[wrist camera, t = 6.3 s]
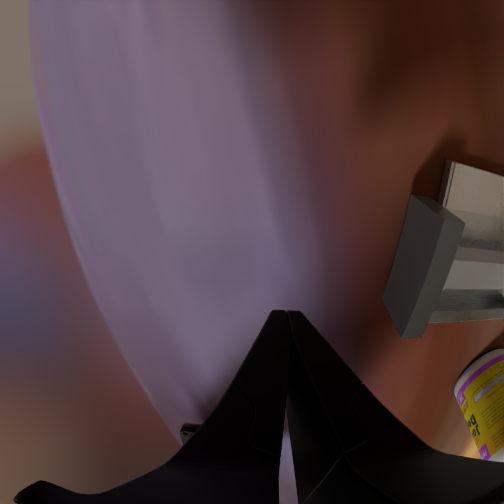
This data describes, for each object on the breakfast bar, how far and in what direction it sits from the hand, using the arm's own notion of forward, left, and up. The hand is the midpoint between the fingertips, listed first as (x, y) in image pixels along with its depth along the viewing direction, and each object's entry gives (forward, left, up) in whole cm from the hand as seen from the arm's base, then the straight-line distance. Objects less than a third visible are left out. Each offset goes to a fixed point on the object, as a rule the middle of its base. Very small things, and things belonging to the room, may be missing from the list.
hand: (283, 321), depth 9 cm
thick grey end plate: (+1, -13, -6) cm, 14 cm away
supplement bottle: (-12, -21, -7) cm, 25 cm away
